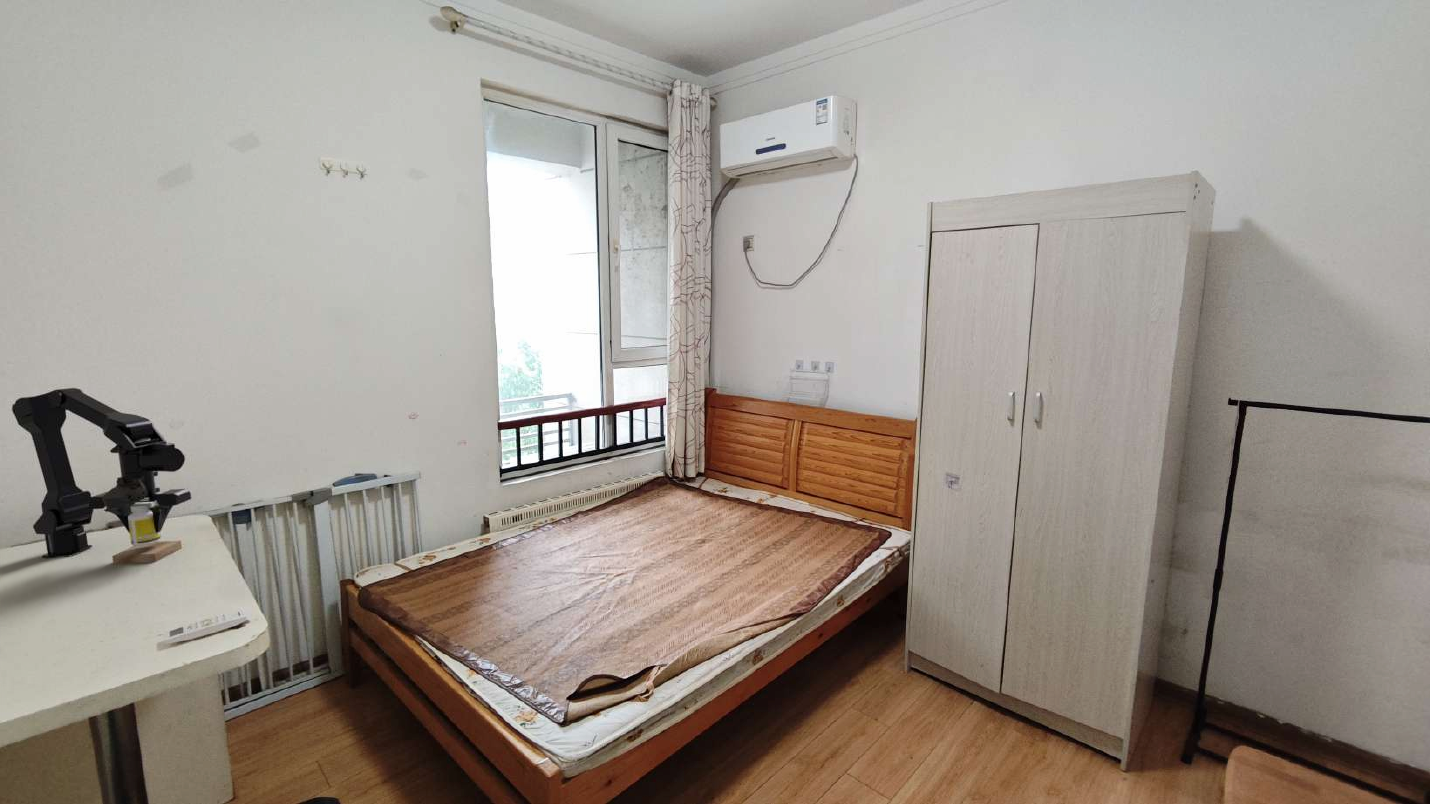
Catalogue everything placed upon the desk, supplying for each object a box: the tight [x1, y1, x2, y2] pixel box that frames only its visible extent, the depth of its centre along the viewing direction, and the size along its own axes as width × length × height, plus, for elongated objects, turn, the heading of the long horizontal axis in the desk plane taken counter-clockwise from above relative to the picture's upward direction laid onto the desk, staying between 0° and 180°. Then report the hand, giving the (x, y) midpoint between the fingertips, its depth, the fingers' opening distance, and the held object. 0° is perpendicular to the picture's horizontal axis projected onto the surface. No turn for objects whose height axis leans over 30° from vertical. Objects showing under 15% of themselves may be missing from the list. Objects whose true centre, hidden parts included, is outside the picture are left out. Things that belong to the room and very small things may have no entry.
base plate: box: [112, 540, 182, 565], centre depth 152 cm, size 9×9×2 cm
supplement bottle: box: [128, 502, 162, 547], centre depth 151 cm, size 5×5×10 cm
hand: (145, 532), depth 151 cm, fingers closed on supplement bottle, 5 cm apart
